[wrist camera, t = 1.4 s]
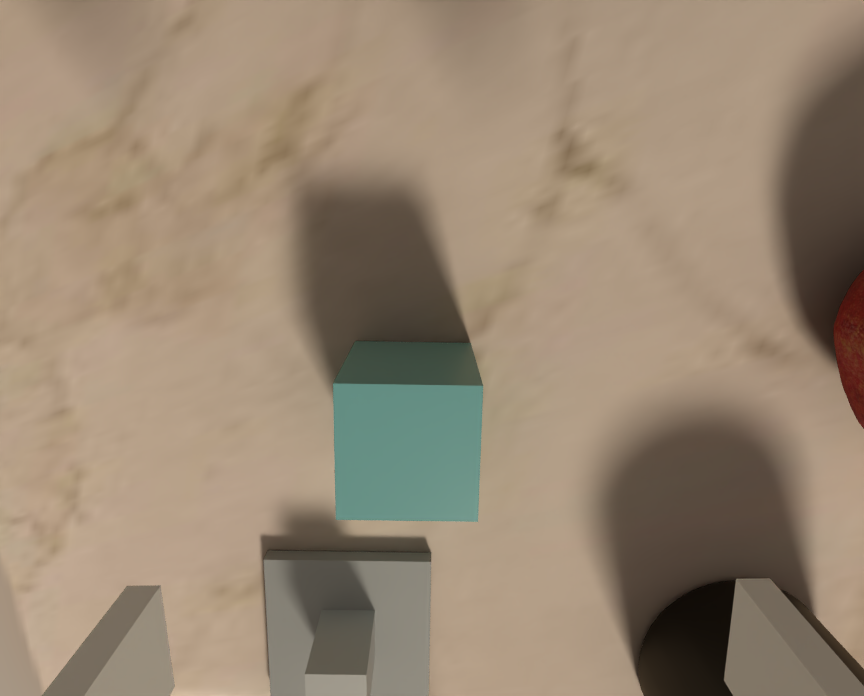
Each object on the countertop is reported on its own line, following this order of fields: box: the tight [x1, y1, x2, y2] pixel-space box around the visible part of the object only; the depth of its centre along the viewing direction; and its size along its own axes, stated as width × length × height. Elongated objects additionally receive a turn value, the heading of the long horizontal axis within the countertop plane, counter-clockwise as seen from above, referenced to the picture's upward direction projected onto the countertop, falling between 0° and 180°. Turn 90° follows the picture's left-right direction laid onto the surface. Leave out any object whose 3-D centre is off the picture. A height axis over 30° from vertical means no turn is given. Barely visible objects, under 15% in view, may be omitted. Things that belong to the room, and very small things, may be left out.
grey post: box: [264, 550, 431, 696], centre depth 29 cm, size 8×8×5 cm
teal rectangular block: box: [333, 341, 483, 522], centre depth 25 cm, size 5×5×7 cm
